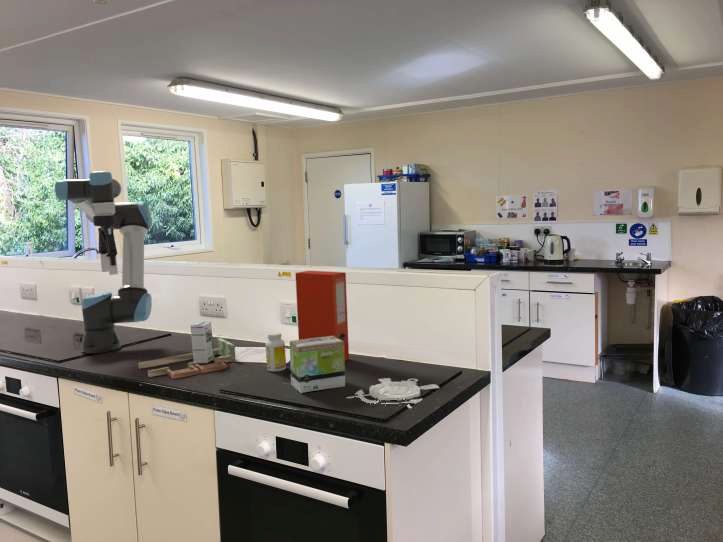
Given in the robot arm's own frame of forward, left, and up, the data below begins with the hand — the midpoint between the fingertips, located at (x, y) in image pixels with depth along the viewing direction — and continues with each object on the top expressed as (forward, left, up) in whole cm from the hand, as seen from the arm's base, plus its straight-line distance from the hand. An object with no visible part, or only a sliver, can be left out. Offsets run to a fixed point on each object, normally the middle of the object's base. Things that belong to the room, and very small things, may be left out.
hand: (109, 273), depth 220 cm
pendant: (+92, +60, -36) cm, 116 cm away
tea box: (+72, +45, -35) cm, 92 cm away
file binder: (+45, +63, -35) cm, 85 cm away
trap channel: (+21, +21, -35) cm, 46 cm away
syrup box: (+17, +27, -35) cm, 47 cm away
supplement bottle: (+46, +43, -35) cm, 72 cm away
